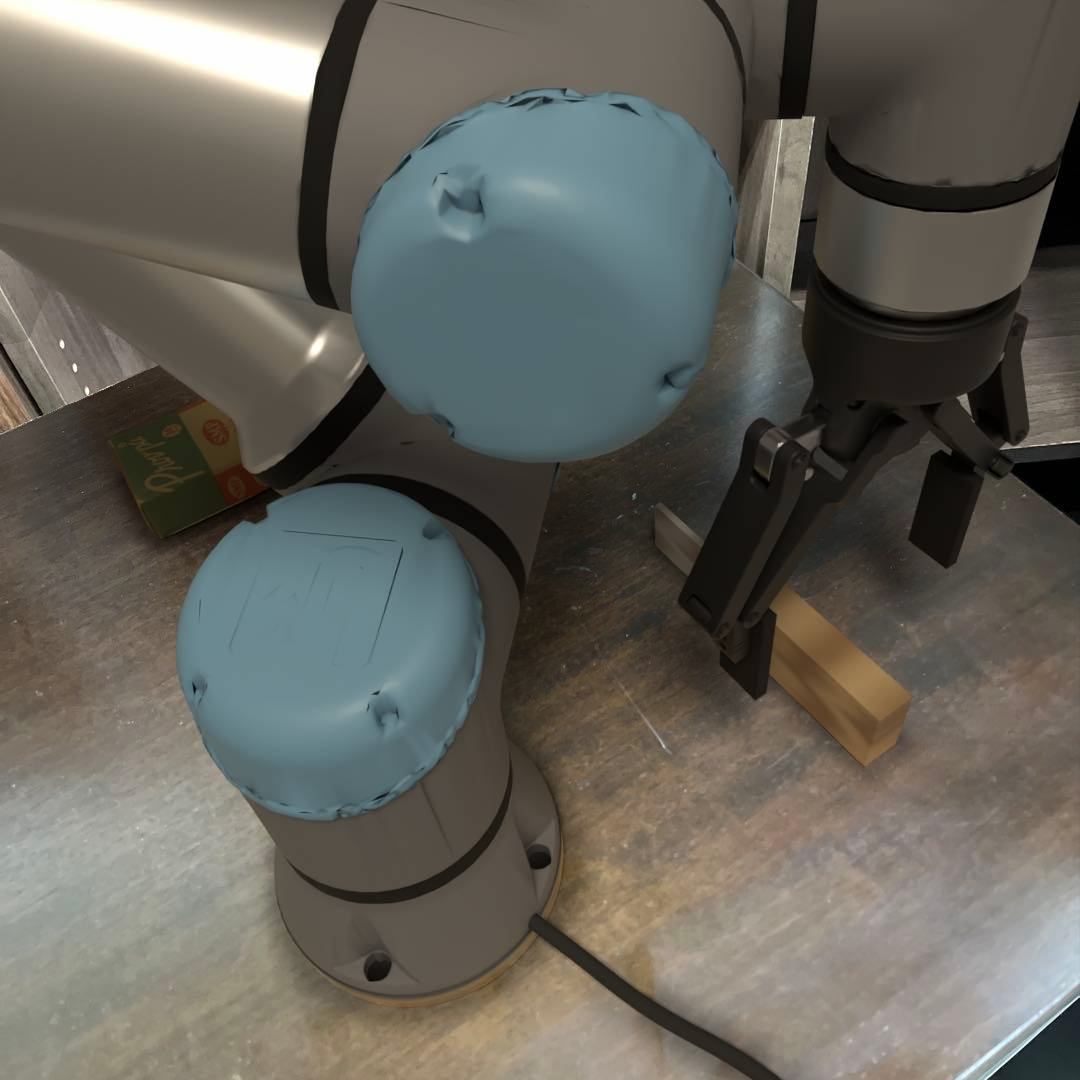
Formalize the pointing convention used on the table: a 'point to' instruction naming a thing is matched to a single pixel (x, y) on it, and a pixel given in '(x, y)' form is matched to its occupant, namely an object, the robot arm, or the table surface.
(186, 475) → the carton
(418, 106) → the robot arm
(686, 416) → the table surface
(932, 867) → the table surface
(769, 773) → the table surface
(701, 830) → the table surface
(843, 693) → the knife
